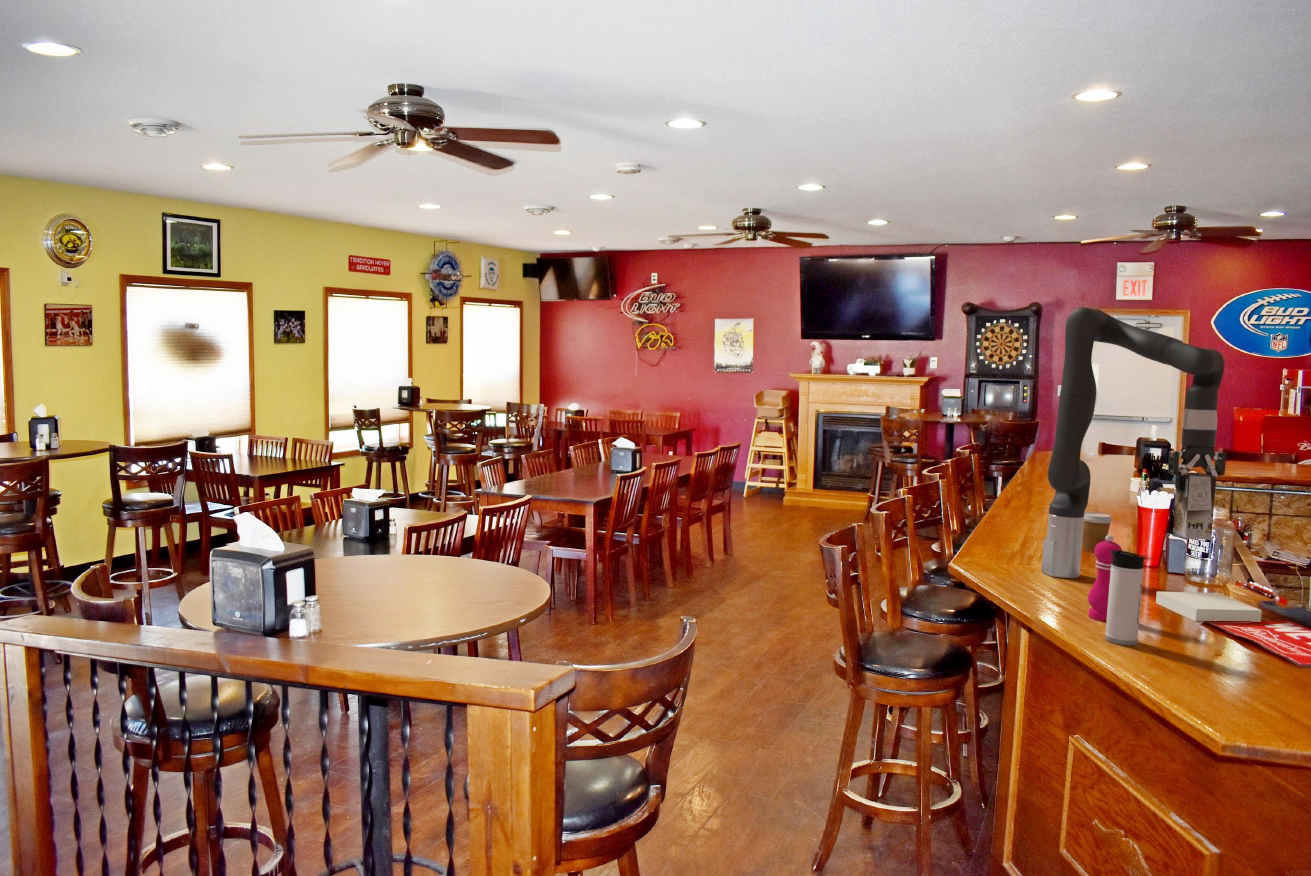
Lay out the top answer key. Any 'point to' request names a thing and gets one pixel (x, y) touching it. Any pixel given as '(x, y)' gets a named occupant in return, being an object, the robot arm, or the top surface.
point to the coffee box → (1195, 507)
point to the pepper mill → (1102, 579)
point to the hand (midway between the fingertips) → (1194, 491)
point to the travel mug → (1124, 598)
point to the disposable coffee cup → (1095, 529)
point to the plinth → (1208, 606)
